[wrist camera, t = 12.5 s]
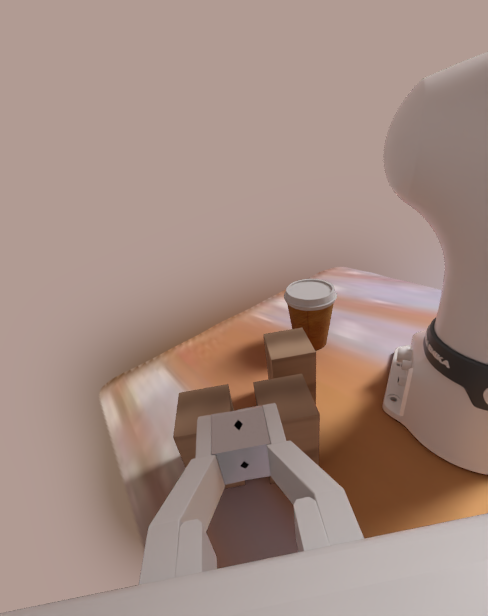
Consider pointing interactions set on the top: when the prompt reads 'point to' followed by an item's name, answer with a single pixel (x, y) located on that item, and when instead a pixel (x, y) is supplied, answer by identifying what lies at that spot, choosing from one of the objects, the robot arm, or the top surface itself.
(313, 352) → the walnut block numbered 2
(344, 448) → the top surface
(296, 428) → the walnut block numbered 1
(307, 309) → the disposable coffee cup
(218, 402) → the plain walnut block
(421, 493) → the top surface
